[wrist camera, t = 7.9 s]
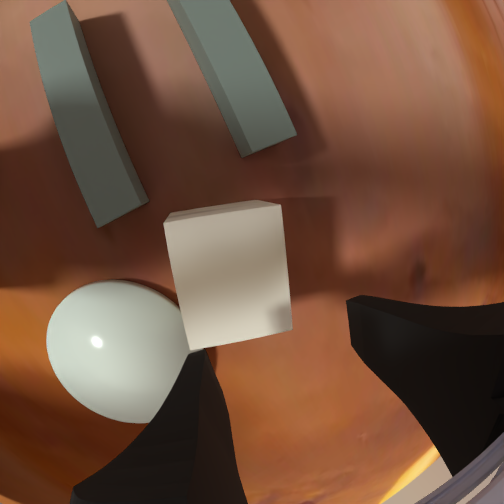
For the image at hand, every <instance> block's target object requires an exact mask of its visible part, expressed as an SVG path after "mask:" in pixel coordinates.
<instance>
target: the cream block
mask: <svg viewBox="0 0 504 504" xmlns="http://www.w3.org/2000/svg"><path fill="white" fill-rule="evenodd" d="M163 224H164V230H165V236H166V242H167V247H168V252H169V258H170V263H171V268H172V273H173V278H174V283H175V288H176V292H177V297H178V301H179V306H180V310H181V315H182V319H183V323H184V327H185V332H186V336H187V340H188V344H189V348H190V350H195V349H201V348H207V347H213V346H218V345H223V344H229V343H234V342H239V341H244V340H249V339H253V338H258V337H263V336H267V335H272V334H276V333H281V332H285V331H289V330H293V328H292V315H291V303H290V291H289V280H288V269H287V258H286V248H285V238H284V228H283V219H282V210H281V205H279V204H275V203H270V202H265V201H260V200H250V201H243V202H236V203H229V204H222V205H215V206H209V207H203V208H196V209H190V210H184V211H178V212H172V213H170V214H169V216H168V217H167V218H166V220H165V221H164V223H163Z"/></svg>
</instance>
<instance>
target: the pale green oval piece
mask: <svg viewBox="0 0 504 504" xmlns="http://www.w3.org/2000/svg"><path fill="white" fill-rule="evenodd" d="M200 350H203V348H201V349H195V350H190V348H189V344H188V340H187V336H186V332H185V327H184V323H183V319H182V315H181V310H180V308H179V307H178V306H177V305H176V304H175V303H174V302H173V301H171V300H170V299H169V298H168V297H166V296H164V295H163V294H161V293H159V292H158V291H156V290H154V289H152V288H149V287H147V286H145V285H142V284H138V283H135V282H131V281H125V280H114V279H110V280H100V281H95V282H91V283H88V284H86V285H83V286H81V287H79V288H77V289H76V290H74V291H73V292H72V293H70V294H69V295H68V296H67V297H66V298H65V299H64V300H63V301H62V302H61V303H60V304H59V305H58V307H57V308H56V309H55V311H54V313H53V314H52V317H51V319H50V322H49V325H48V330H47V351H48V355H49V360H50V362H51V365H52V368H53V370H54V372H55V374H56V376H57V377H58V379H59V380H60V382H61V383H62V385H63V386H64V387H65V388H66V390H67V391H68V392H69V393H70V394H71V395H72V396H73V397H74V398H75V399H76V400H78V401H79V402H80V403H81V404H83V405H84V406H86V407H87V408H89V409H90V410H92V411H94V412H96V413H98V414H100V415H102V416H105V417H107V418H110V419H114V420H117V421H122V422H128V423H150V421H151V420H152V419H153V418H154V416H155V415H156V413H157V412H158V411H159V409H160V407H161V406H162V404H163V402H164V401H165V399H166V397H167V396H168V394H169V392H170V390H171V389H172V387H173V385H174V383H175V381H176V379H177V377H178V375H179V373H180V371H181V368H182V366H183V364H184V362H185V360H186V358H187V356H188V354H189V353H193V352H196V351H200Z"/></svg>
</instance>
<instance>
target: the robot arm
mask: <svg viewBox="0 0 504 504" xmlns="http://www.w3.org/2000/svg"><path fill="white" fill-rule="evenodd" d="M346 304H347V312H348V320H349V329H350V338H351V345H352V347H353V348H354V350H355V351H356V352H357V354H358V355H359V357H360V358H361V359H362V361H363V362H364V363H365V364H366V365H367V366H368V367H369V368H370V369H371V370H372V371H373V372H374V373H375V374H376V375H377V376H378V377H379V378H380V379H381V380H382V381H383V382H384V383H385V384H386V385H387V386H388V387H389V388H390V389H391V390H392V391H393V392H394V393H395V394H396V395H397V396H398V397H399V398H400V399H401V400H402V401H403V403H404V404H405V405H406V406H407V407H408V409H409V410H410V411H411V413H412V414H413V415H414V416H415V418H416V419H417V420H418V422H419V423H420V425H421V426H422V427H423V429H424V430H425V432H426V433H427V435H428V436H429V437H430V439H431V441H432V442H433V444H434V445H435V447H436V448H437V450H438V452H439V453H440V455H441V457H442V458H443V460H444V462H445V464H446V466H447V467H448V469H449V471H450V473H451V475H452V478H451V479H450V480H448V481H447V482H446V483H444V484H443V485H442V486H440V487H439V488H437V489H436V490H435V491H433V492H432V493H430V494H429V495H427V496H426V497H424V498H423V499H421V500H420V501H418V502H417V503H415V504H456V503H457V502H459V501H460V500H461V499H462V498H464V497H465V496H466V495H467V494H469V493H470V492H471V491H472V490H473V489H474V488H476V487H477V486H478V485H479V484H480V483H481V482H482V481H484V480H485V479H486V478H487V477H488V476H489V475H490V474H491V473H492V472H493V471H494V470H495V469H496V468H497V467H498V466H499V465H501V466H500V467H499V469H498V471H497V473H496V475H495V476H494V478H493V479H492V480H491V482H490V483H489V484H488V485H487V486H486V487H485V488H484V489H483V490H482V491H481V492H479V493H478V494H477V495H476V496H475V497H474V498H472V499H471V500H470V501H469V502H468V503H466V504H504V302H501V303H496V304H490V305H481V306H469V307H441V306H429V305H420V304H413V303H407V302H401V301H395V300H390V299H384V298H379V297H373V296H365V295H359V296H356V297H354V298H351V299H349V300H346ZM70 504H248V503H247V500H246V496H245V493H244V490H243V487H242V484H241V480H240V477H239V473H238V469H237V464H236V459H235V452H234V446H233V439H232V432H231V426H230V419H229V413H228V409H227V406H226V402H225V398H224V395H223V391H222V389H221V387H220V384H219V382H218V379H217V377H216V375H215V372H214V370H213V367H212V365H211V362H210V360H209V357H208V355H207V352H206V350H205V349H203V350H200V351H196V352H193V353H189V354H188V356H187V358H186V360H185V362H184V364H183V366H182V368H181V371H180V373H179V375H178V377H177V379H176V381H175V383H174V385H173V387H172V389H171V390H170V392H169V394H168V396H167V397H166V399H165V401H164V402H163V404H162V406H161V407H160V409H159V411H158V412H157V413H156V415H155V416H154V418H153V419H152V420H151V421H150V423H149V424H148V425H147V426H146V428H145V429H144V430H143V431H142V432H141V433H140V434H139V435H138V437H137V438H136V439H135V440H134V441H133V442H132V443H131V444H130V445H129V446H128V447H127V448H126V449H125V450H124V451H123V452H122V453H120V454H119V455H118V456H117V457H116V458H115V459H114V460H112V461H111V462H110V463H109V464H107V465H106V466H105V467H103V468H102V469H101V470H99V471H98V472H96V473H95V474H93V475H92V476H90V477H89V478H87V479H85V480H84V481H82V482H81V483H79V484H77V485H75V486H74V487H73V491H72V495H71V500H70Z"/></svg>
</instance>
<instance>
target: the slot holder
mask: <svg viewBox="0 0 504 504" xmlns="http://www.w3.org/2000/svg"><path fill="white" fill-rule="evenodd" d="M167 2H168V4H169V5H170V7H171V9H172V11H173V13H174V15H175V17H176V19H177V21H178V23H179V25H180V28H181V30H182V32H183V34H184V36H185V38H186V40H187V42H188V44H189V46H190V48H191V50H192V52H193V54H194V56H195V58H196V60H197V62H198V65H199V67H200V69H201V71H202V73H203V75H204V77H205V79H206V81H207V84H208V86H209V88H210V90H211V92H212V94H213V96H214V99H215V101H216V103H217V105H218V107H219V109H220V112H221V114H222V116H223V118H224V120H225V122H226V125H227V127H228V129H229V131H230V133H231V136H232V138H233V140H234V142H235V144H236V147H237V149H238V151H239V153H240V156H241V158H243V157H246V156H248V155H250V154H253V153H255V152H258V151H260V150H263V149H265V148H268V147H270V146H273V145H275V144H278V143H280V142H282V141H285V140H287V139H289V138H291V137H294V136H296V135H297V133H296V131H295V128H294V126H293V124H292V121H291V119H290V117H289V115H288V113H287V110H286V108H285V106H284V104H283V102H282V100H281V97H280V95H279V93H278V91H277V89H276V87H275V85H274V83H273V81H272V79H271V77H270V74H269V72H268V70H267V68H266V66H265V64H264V63H263V61H262V59H261V57H260V55H259V53H258V51H257V49H256V47H255V45H254V43H253V41H252V39H251V38H250V36H249V34H248V32H247V30H246V28H245V27H244V25H243V23H242V21H241V19H240V18H239V16H238V14H237V12H236V11H235V9H234V7H233V6H232V4H231V2H230V0H167ZM30 26H31V32H32V37H33V42H34V47H35V52H36V57H37V61H38V65H39V69H40V73H41V77H42V81H43V85H44V89H45V92H46V96H47V99H48V102H49V106H50V109H51V112H52V115H53V119H54V122H55V125H56V128H57V131H58V134H59V136H60V139H61V142H62V145H63V148H64V150H65V153H66V156H67V158H68V161H69V163H70V166H71V169H72V171H73V174H74V176H75V178H76V181H77V183H78V186H79V188H80V190H81V193H82V195H83V197H84V200H85V202H86V204H87V206H88V209H89V211H90V213H91V215H92V217H93V219H94V221H95V224H96V226H97V228H99V227H101V226H103V225H106V224H108V223H110V222H112V221H114V220H116V219H117V218H119V217H121V216H123V215H125V214H127V213H128V212H130V211H132V210H134V209H136V208H138V207H140V206H142V205H143V204H145V203H147V202H149V199H148V197H147V195H146V193H145V191H144V189H143V186H142V184H141V182H140V180H139V178H138V175H137V173H136V171H135V169H134V166H133V164H132V162H131V159H130V157H129V155H128V152H127V150H126V148H125V145H124V143H123V141H122V138H121V136H120V133H119V131H118V129H117V126H116V124H115V121H114V119H113V116H112V114H111V111H110V109H109V106H108V103H107V101H106V98H105V96H104V93H103V90H102V88H101V85H100V82H99V79H98V77H97V74H96V71H95V68H94V65H93V63H92V60H91V57H90V54H89V51H88V48H87V45H86V42H85V39H84V36H83V33H82V29H81V26H80V23H79V20H78V19H77V17H76V16H75V14H74V12H73V11H72V9H71V8H70V6H69V4H68V3H67V1H66V0H64V1H63V2H61V3H59V4H57V5H56V6H54V7H52V8H51V9H49V10H47V11H46V12H44V13H43V14H41V15H39V16H38V17H36V18H35V19H33V20H32V21H30Z"/></svg>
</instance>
